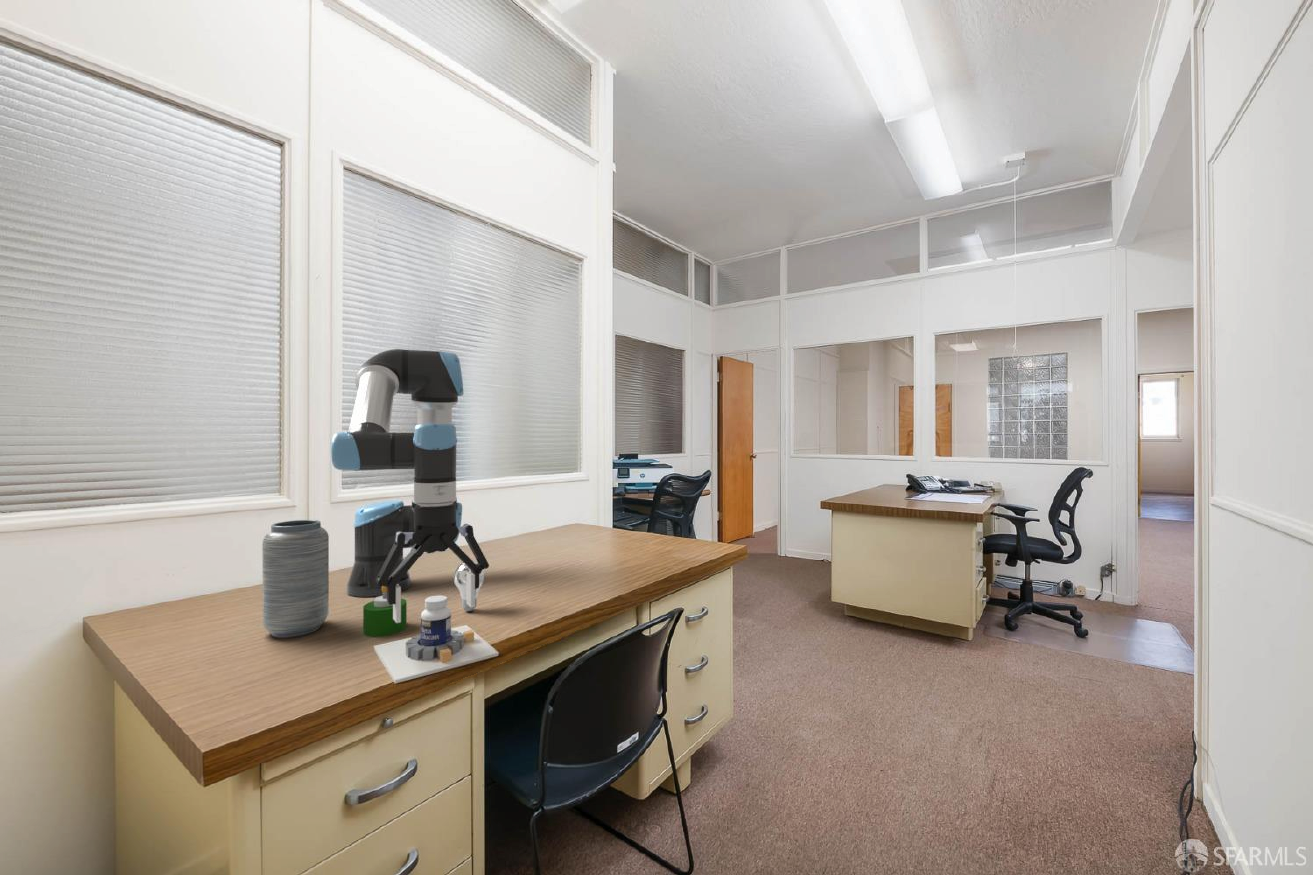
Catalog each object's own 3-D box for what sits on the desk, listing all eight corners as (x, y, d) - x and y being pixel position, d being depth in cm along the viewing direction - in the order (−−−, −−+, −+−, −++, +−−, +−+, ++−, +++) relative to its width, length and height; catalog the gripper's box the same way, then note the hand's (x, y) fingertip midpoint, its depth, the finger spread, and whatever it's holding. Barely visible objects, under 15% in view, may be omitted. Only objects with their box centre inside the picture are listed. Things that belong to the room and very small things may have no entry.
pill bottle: (416, 655, 98) (416, 603, 98) (426, 643, 103) (426, 594, 103) (445, 654, 98) (446, 602, 98) (454, 642, 103) (454, 593, 103)
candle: (414, 624, 115) (415, 579, 115) (387, 638, 107) (387, 590, 107) (382, 621, 117) (383, 576, 117) (353, 634, 109) (353, 587, 109)
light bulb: (474, 617, 119) (474, 565, 119) (447, 615, 121) (447, 563, 121) (490, 607, 126) (490, 558, 126) (464, 605, 128) (464, 556, 127)
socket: (373, 648, 102) (373, 636, 102) (466, 627, 113) (466, 616, 113) (395, 683, 88) (395, 669, 88) (498, 655, 99) (498, 642, 99)
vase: (337, 618, 118) (337, 518, 118) (313, 638, 107) (313, 527, 106) (281, 621, 116) (281, 519, 116) (250, 642, 105) (249, 528, 105)
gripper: (365, 512, 90) (366, 634, 90) (505, 500, 105) (505, 604, 106) (358, 506, 95) (358, 621, 96) (491, 496, 111) (491, 594, 111)
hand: (435, 612), depth 101 cm, fingers open, 13 cm apart
